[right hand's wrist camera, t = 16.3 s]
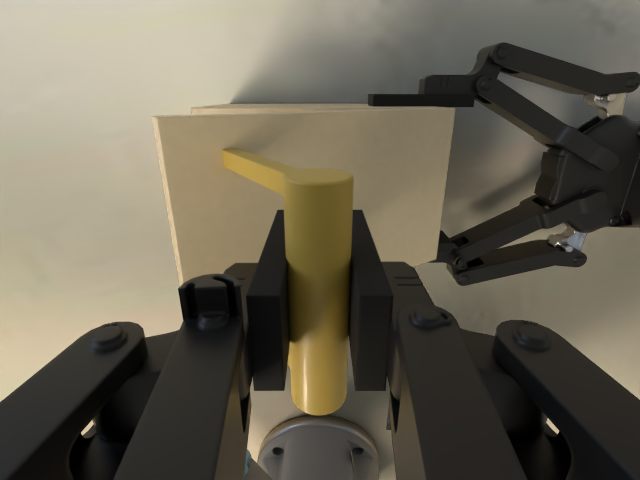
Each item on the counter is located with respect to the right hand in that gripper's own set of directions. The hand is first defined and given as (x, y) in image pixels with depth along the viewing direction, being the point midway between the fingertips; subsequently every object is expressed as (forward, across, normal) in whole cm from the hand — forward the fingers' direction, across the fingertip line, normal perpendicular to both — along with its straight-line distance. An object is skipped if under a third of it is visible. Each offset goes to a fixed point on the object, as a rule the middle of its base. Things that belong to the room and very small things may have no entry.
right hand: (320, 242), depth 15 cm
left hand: (+13, -3, 0) cm, 13 cm away
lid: (+5, 0, 0) cm, 5 cm away
